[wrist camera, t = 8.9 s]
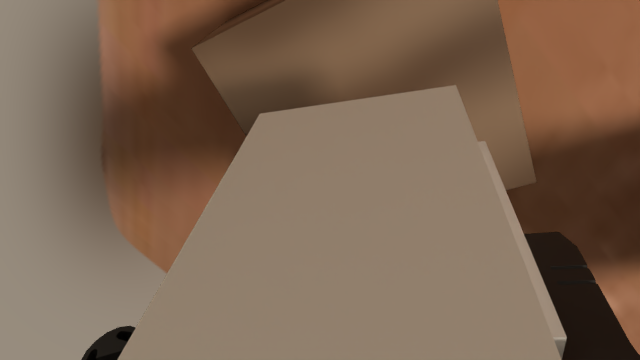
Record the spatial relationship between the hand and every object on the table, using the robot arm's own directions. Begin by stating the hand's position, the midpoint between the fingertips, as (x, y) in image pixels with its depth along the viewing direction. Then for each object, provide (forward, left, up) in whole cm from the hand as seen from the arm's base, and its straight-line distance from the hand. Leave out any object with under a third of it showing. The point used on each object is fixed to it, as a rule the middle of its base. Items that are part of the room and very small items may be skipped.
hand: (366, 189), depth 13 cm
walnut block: (0, 0, -11) cm, 11 cm away
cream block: (0, 0, 0) cm, 1 cm away
